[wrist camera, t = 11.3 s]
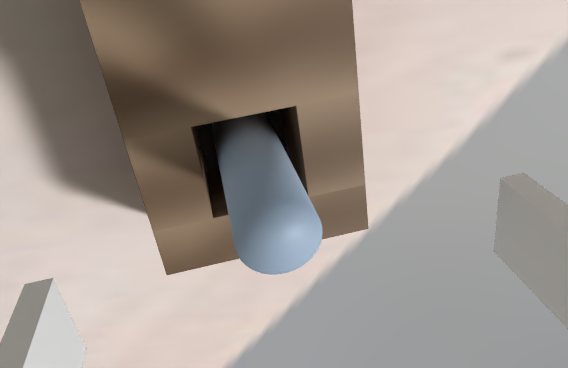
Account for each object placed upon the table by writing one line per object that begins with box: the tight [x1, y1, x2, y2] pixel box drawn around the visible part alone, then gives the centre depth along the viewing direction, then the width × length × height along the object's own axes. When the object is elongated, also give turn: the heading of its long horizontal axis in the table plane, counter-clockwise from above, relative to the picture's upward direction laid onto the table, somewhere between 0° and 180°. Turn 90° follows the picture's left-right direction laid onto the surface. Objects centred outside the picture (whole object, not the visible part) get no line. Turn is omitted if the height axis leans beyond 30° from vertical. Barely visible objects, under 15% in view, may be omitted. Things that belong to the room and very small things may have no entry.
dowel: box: [212, 112, 323, 274], centre depth 22 cm, size 3×3×11 cm
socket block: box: [79, 0, 368, 275], centre depth 23 cm, size 13×10×5 cm
